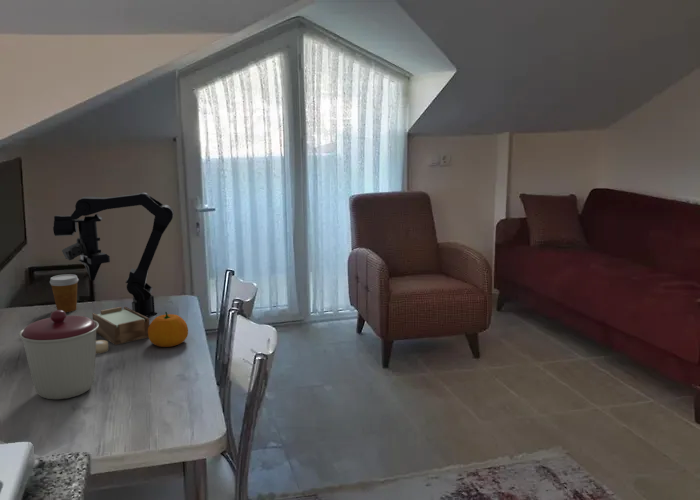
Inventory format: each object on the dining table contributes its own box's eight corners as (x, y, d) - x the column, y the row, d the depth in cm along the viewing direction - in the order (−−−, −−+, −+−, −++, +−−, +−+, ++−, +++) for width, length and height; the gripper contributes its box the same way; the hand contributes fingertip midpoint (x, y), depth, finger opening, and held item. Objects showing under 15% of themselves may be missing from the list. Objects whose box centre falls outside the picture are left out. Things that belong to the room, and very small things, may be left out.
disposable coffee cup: (51, 308, 244) (48, 275, 242) (80, 305, 248) (77, 272, 245) (52, 315, 235) (49, 281, 233) (82, 311, 239) (79, 278, 237)
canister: (119, 386, 173) (113, 306, 169) (57, 412, 158) (48, 325, 154) (72, 373, 182) (65, 297, 178) (9, 397, 167) (0, 314, 163)
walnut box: (127, 324, 224) (125, 306, 223) (150, 337, 211) (148, 318, 210) (93, 331, 217) (92, 313, 216) (115, 345, 204) (114, 325, 203)
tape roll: (104, 346, 203) (103, 338, 203) (111, 350, 199) (110, 342, 199) (87, 350, 200) (87, 342, 199) (94, 355, 196) (93, 346, 196)
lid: (124, 311, 222) (124, 305, 221) (144, 321, 210) (144, 315, 210) (96, 316, 216) (96, 311, 215) (116, 327, 205) (115, 321, 204)
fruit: (179, 351, 199) (177, 318, 197) (141, 349, 201) (139, 316, 199) (194, 338, 210) (192, 306, 208) (158, 336, 212) (156, 305, 210)
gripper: (53, 234, 228) (58, 279, 232) (74, 241, 215) (78, 289, 218) (87, 230, 236) (90, 274, 239) (108, 237, 222) (112, 283, 225)
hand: (92, 280), depth 230 cm, fingers closed
